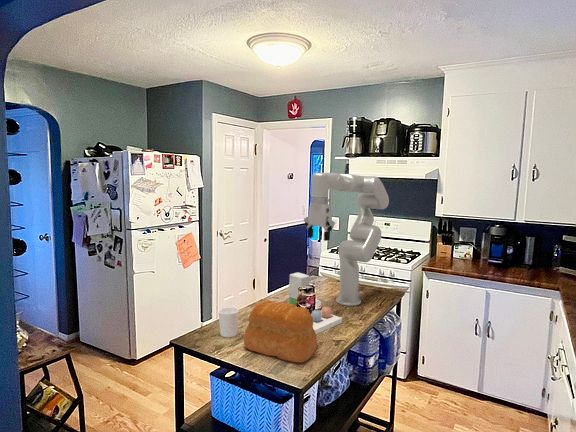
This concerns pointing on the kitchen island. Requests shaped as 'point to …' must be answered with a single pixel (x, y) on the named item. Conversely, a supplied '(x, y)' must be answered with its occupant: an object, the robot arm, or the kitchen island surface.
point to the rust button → (326, 312)
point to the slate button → (316, 316)
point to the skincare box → (296, 285)
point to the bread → (281, 331)
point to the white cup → (228, 321)
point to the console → (326, 323)
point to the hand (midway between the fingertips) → (318, 238)
